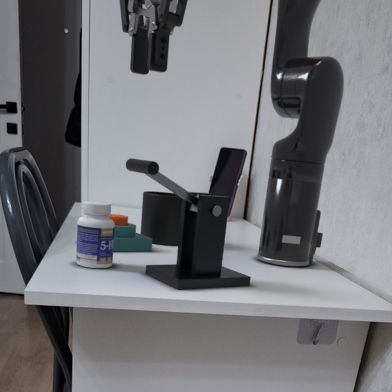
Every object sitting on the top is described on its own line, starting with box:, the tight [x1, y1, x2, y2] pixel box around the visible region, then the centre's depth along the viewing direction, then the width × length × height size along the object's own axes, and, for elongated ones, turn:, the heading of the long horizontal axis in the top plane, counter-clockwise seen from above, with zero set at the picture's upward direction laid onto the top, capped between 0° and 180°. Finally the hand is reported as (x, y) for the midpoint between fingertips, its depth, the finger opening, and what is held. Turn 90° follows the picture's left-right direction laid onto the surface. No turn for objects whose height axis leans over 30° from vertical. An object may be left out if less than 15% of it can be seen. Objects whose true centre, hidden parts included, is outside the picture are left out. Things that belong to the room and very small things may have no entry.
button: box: [109, 213, 129, 226], centre depth 95 cm, size 4×4×2 cm
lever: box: [125, 157, 199, 215], centre depth 71 cm, size 13×6×2 cm, turn 120°
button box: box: [113, 222, 153, 252], centre depth 96 cm, size 10×8×4 cm
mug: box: [140, 190, 182, 246], centre depth 107 cm, size 9×12×9 cm
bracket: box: [145, 191, 252, 290], centre depth 75 cm, size 12×9×12 cm
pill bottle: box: [75, 200, 114, 269], centre depth 79 cm, size 5×5×9 cm
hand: (147, 71), depth 64 cm, fingers open, 3 cm apart
